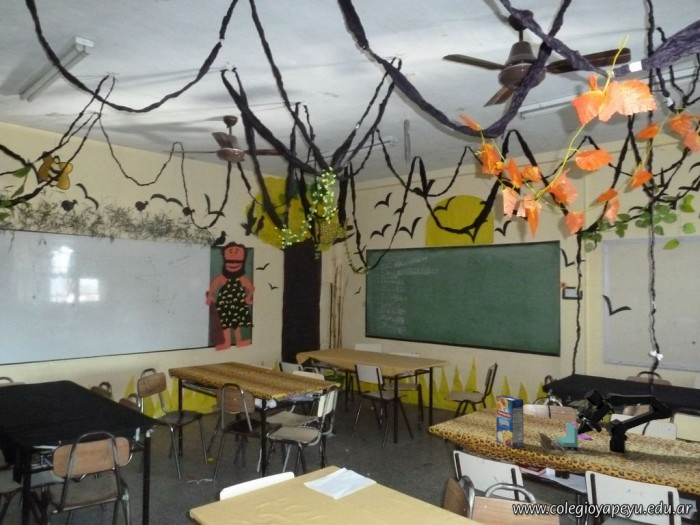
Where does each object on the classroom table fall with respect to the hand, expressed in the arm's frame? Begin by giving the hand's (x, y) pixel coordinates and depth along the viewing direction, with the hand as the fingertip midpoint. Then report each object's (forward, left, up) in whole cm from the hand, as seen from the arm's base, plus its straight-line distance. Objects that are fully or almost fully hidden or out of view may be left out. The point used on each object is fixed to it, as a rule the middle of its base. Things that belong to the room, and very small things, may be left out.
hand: (576, 434), depth 259 cm
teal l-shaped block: (+4, +3, -5) cm, 7 cm away
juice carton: (+29, +14, -8) cm, 34 cm away
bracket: (+5, -26, -8) cm, 27 cm away
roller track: (+7, +5, -8) cm, 11 cm away
